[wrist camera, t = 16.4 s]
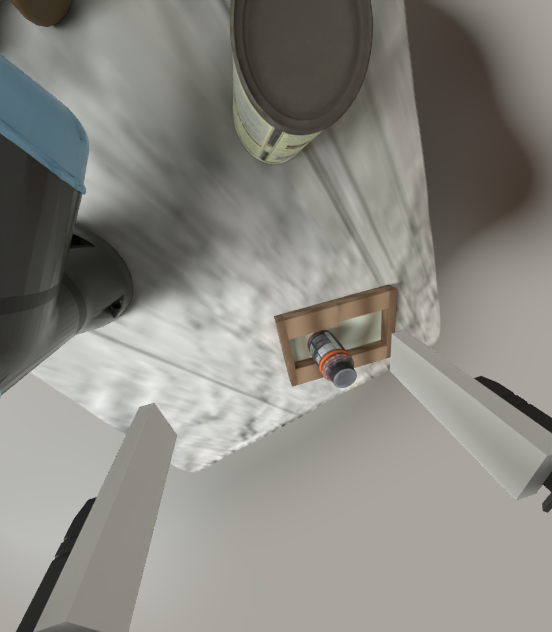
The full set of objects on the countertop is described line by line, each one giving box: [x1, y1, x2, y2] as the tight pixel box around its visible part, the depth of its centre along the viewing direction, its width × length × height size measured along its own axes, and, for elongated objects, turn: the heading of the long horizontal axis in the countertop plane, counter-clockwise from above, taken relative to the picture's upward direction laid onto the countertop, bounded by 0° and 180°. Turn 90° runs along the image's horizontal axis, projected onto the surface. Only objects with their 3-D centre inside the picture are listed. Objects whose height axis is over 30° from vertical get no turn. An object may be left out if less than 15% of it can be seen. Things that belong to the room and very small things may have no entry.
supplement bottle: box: [307, 330, 357, 388], centre depth 39 cm, size 6×6×11 cm
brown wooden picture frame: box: [274, 285, 397, 386], centre depth 44 cm, size 23×16×2 cm
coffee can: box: [230, 0, 373, 164], centre depth 21 cm, size 10×10×14 cm
